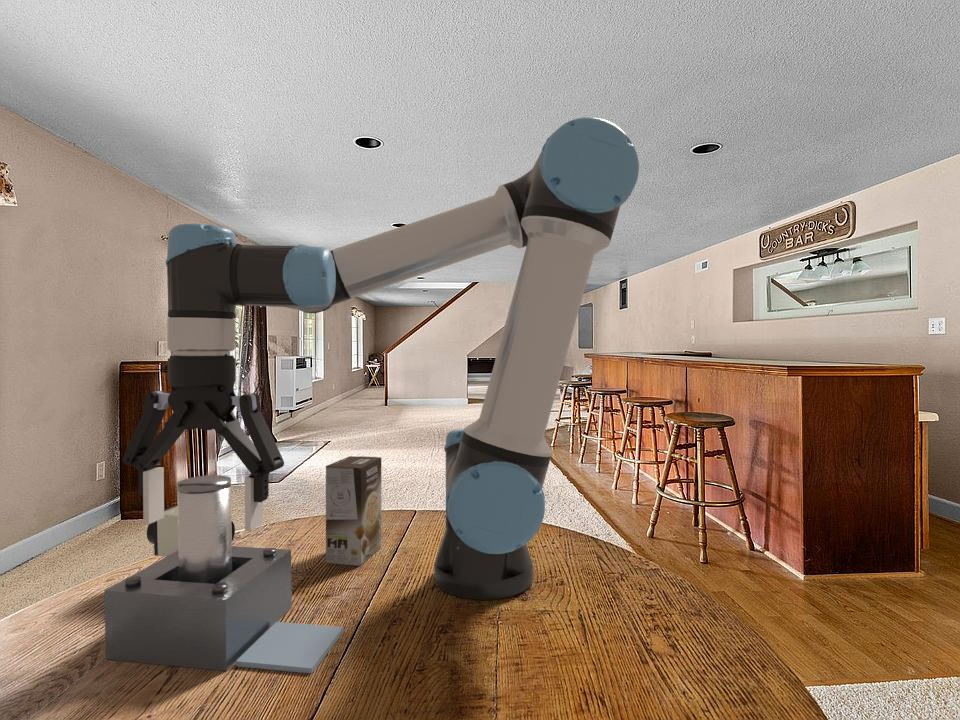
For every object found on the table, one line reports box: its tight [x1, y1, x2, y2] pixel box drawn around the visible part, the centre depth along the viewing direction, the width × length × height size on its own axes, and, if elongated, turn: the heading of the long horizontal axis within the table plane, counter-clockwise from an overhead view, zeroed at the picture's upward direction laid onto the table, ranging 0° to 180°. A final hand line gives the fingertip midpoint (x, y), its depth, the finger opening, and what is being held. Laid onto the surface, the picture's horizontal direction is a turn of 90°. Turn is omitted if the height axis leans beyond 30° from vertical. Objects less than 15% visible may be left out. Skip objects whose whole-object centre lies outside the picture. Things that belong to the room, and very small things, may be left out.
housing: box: [103, 545, 293, 672], centre depth 71 cm, size 15×15×9 cm
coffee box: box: [325, 455, 383, 567], centre depth 96 cm, size 9×6×16 cm
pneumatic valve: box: [146, 504, 236, 557], centre depth 85 cm, size 6×12×12 cm, turn 78°
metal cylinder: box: [176, 474, 233, 584], centre depth 71 cm, size 6×6×17 cm
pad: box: [235, 621, 345, 675], centre depth 67 cm, size 9×9×1 cm
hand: (203, 524), depth 71 cm, fingers open, 13 cm apart
